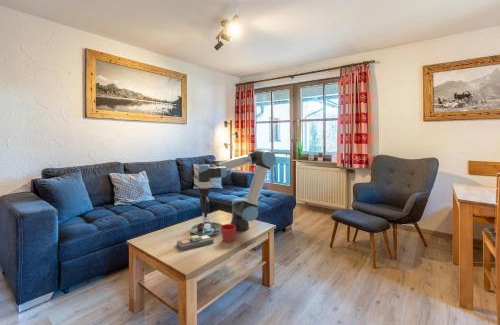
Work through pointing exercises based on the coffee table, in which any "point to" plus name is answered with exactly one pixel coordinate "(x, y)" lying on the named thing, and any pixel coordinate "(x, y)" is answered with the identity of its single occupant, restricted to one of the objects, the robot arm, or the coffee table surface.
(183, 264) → the coffee table surface
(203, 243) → the grey rectangular tray
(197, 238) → the key sage
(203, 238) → the key ivory
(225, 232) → the flower pot
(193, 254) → the coffee table surface
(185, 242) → the key terracotta
